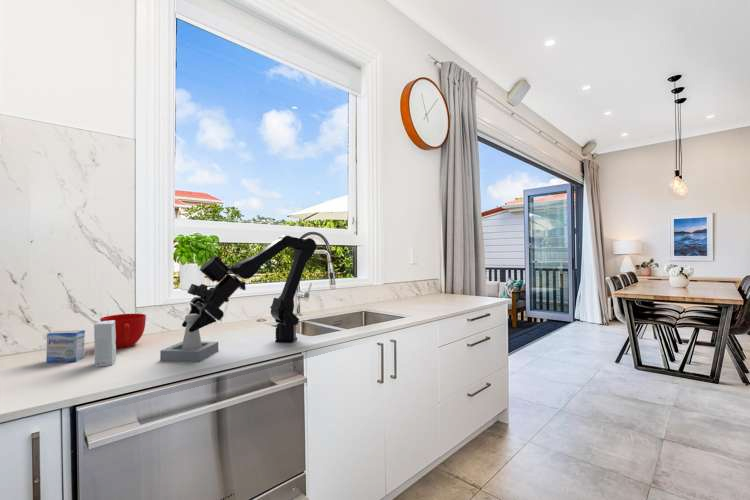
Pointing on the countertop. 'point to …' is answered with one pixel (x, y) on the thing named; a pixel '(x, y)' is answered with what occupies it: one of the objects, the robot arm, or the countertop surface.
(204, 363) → the countertop surface
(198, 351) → the grey square tray
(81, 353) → the medicine box
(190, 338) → the salt shaker
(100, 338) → the skincare box
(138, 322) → the ceramic cup
